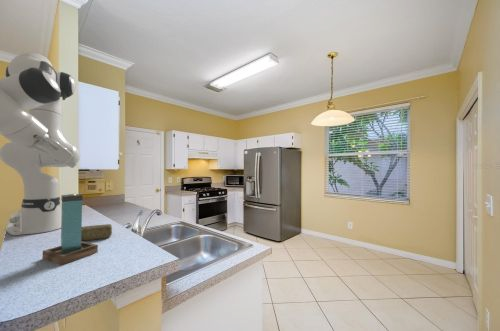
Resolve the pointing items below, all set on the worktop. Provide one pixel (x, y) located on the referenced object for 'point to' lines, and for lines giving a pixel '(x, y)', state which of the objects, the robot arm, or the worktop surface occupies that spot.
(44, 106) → the robot arm
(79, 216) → the teal upright block
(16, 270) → the worktop surface
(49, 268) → the worktop surface
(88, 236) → the stone block
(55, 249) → the stand
